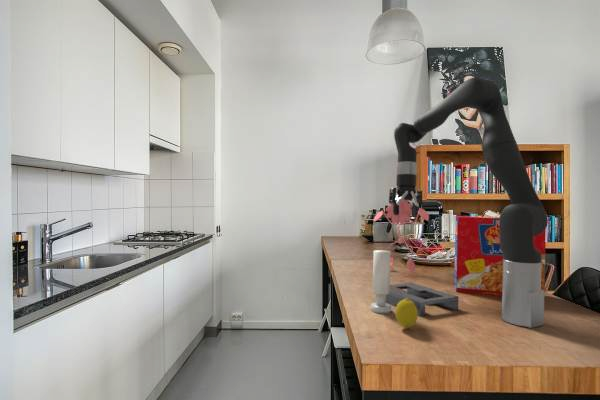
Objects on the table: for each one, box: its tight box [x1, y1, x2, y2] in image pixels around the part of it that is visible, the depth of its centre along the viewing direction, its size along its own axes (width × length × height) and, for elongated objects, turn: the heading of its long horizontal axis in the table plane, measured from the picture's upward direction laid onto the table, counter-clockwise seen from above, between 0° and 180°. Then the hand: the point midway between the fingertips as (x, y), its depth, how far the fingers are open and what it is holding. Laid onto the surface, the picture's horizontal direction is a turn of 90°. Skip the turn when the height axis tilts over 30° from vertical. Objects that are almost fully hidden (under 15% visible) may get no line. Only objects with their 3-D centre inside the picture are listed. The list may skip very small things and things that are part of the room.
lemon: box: [395, 298, 418, 330], centre depth 93 cm, size 6×6×8 cm
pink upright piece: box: [373, 200, 430, 278], centre depth 164 cm, size 15×26×35 cm, turn 62°
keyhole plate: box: [386, 282, 459, 317], centre depth 116 cm, size 20×16×4 cm
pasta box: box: [453, 215, 547, 297], centre depth 131 cm, size 28×8×28 cm, turn 72°
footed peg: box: [370, 249, 392, 315], centre depth 108 cm, size 6×6×18 cm
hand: (405, 215), depth 138 cm, fingers open, 8 cm apart
